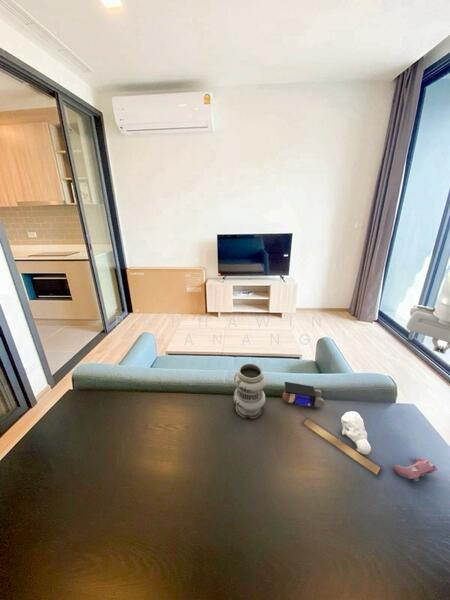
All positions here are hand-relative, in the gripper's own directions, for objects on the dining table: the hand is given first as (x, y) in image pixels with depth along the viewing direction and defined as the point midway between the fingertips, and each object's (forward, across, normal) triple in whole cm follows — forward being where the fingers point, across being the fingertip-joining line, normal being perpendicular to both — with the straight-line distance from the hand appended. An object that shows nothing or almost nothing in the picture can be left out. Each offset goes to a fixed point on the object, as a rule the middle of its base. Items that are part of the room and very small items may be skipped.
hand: (439, 351), depth 80 cm
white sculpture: (+29, -11, -26) cm, 40 cm away
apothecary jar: (+29, -44, -42) cm, 67 cm away
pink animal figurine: (+29, +5, -24) cm, 38 cm away
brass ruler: (+29, -14, -31) cm, 45 cm away
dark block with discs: (+29, -32, -24) cm, 50 cm away
